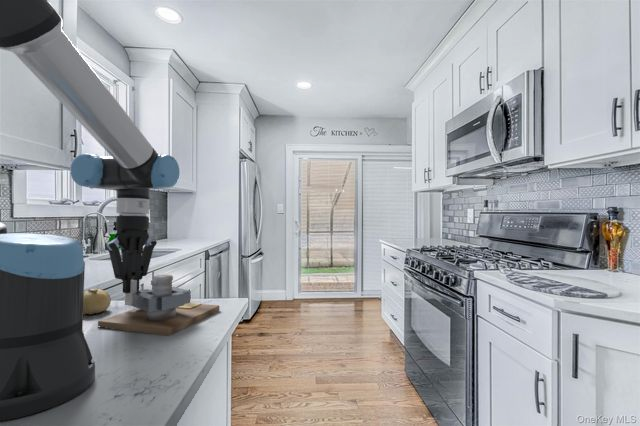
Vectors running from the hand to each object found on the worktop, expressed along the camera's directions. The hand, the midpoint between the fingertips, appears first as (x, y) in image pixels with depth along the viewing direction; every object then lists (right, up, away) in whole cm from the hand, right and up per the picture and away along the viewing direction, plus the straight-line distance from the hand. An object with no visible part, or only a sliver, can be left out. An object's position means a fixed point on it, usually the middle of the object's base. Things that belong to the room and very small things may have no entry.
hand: (130, 304), depth 85 cm
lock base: (+9, -3, -1) cm, 10 cm away
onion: (-12, -4, +4) cm, 13 cm away
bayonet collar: (+8, -1, -2) cm, 8 cm away
